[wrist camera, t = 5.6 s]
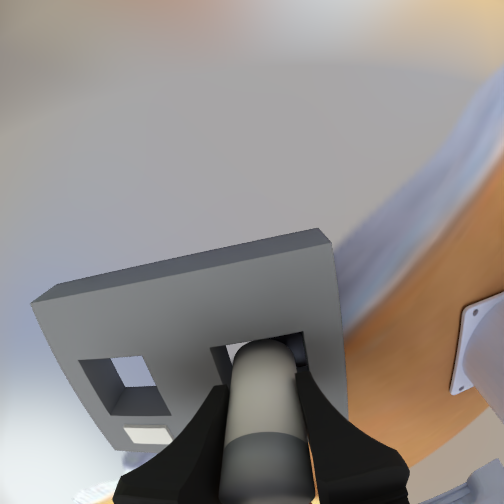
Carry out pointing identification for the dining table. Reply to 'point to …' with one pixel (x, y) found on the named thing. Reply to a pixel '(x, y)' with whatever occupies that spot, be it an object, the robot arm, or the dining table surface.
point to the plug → (265, 430)
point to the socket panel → (192, 330)
